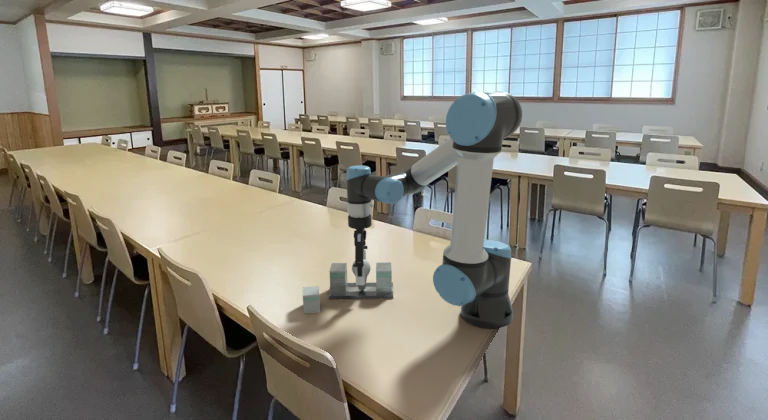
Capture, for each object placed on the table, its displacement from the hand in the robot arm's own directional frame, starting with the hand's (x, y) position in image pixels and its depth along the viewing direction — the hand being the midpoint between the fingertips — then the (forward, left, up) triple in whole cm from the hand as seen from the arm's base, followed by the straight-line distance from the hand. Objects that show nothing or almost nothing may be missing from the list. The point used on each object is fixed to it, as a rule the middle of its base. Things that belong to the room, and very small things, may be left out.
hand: (361, 276), depth 147 cm
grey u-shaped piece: (0, 0, -6) cm, 6 cm away
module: (-11, +15, -6) cm, 19 cm away
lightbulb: (-1, 0, -5) cm, 5 cm away
